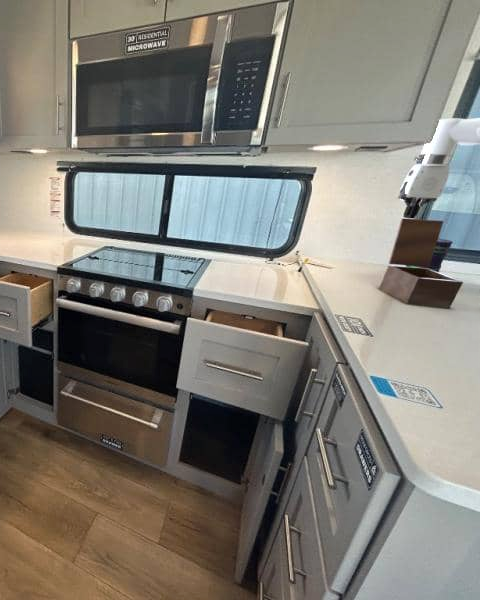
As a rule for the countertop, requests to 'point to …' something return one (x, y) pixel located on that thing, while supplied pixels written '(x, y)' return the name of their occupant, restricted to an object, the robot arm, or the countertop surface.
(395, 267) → the chest
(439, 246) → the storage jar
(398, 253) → the lid
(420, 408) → the countertop surface
